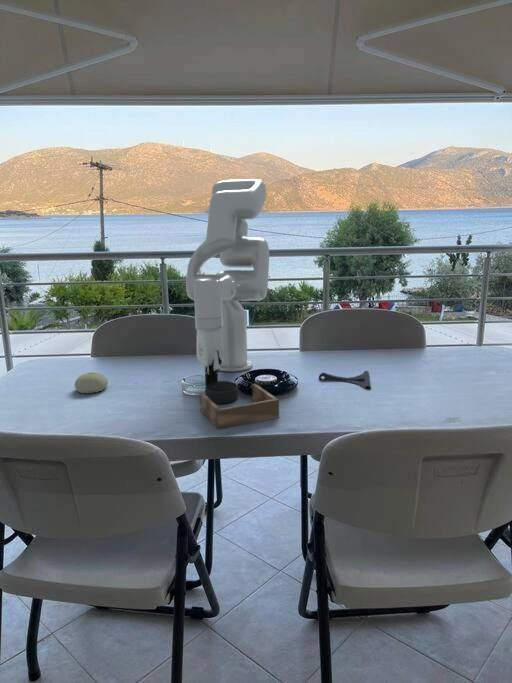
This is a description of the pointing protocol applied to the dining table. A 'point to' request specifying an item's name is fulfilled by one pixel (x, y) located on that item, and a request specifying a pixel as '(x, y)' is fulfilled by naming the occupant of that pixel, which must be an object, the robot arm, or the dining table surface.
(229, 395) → the smart speaker
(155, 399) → the dining table surface
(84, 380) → the sea urchin shell
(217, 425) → the box
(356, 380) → the bracket
